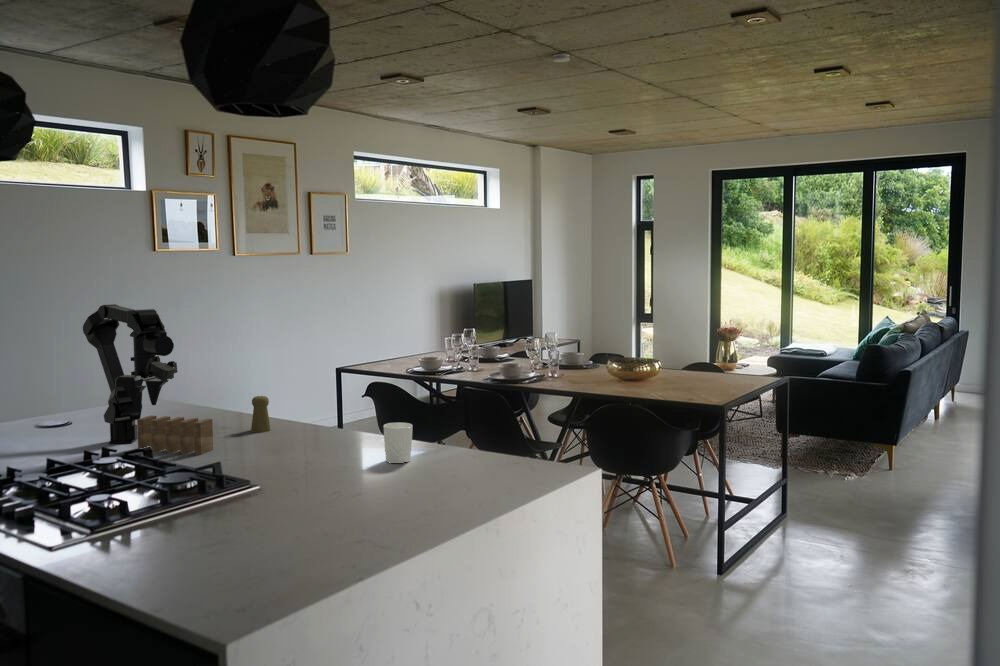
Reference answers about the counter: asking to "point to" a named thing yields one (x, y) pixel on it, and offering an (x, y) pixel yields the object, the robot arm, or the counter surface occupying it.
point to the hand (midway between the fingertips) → (146, 407)
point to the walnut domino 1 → (145, 431)
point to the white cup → (398, 442)
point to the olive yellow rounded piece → (260, 414)
